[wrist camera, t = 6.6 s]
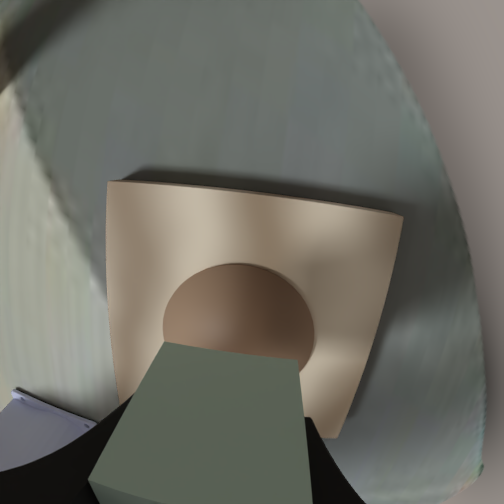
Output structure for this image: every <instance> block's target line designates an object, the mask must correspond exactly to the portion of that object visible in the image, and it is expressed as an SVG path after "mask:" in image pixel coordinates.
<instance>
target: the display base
mask: <svg viewBox="0 0 504 504" xmlns="http://www.w3.org/2000/svg"><path fill="white" fill-rule="evenodd" d="M403 219H404V217H403V216H400V215H398V214H395V213H393V212H388V211H382V210H377V209H371V208H365V207H359V206H353V205H347V204H341V203H334V202H328V201H321V200H315V199H308V198H301V197H293V196H286V195H278V194H271V193H263V192H254V191H246V190H237V189H228V188H219V187H209V186H199V185H188V184H176V183H164V182H151V181H137V180H113V181H108V185H107V206H106V276H107V297H108V312H109V325H110V336H111V346H112V354H113V363H114V370H115V377H116V384H117V391H118V397H119V403H120V405H121V404H122V403H124V402H125V401H126V400H127V399H128V398H129V397H130V396H131V395H133V394H134V393H135V392H136V390H137V388H138V386H139V385H140V383H141V381H142V379H143V377H144V376H145V374H146V372H147V370H148V369H149V367H150V365H151V363H152V362H153V360H154V358H155V356H156V355H157V353H158V351H159V349H160V348H161V346H162V344H163V343H164V341H165V342H171V343H176V344H182V345H188V346H193V347H199V348H206V349H212V350H219V351H226V352H233V353H240V354H248V355H256V356H265V357H274V358H283V359H294V360H298V368H299V376H300V384H301V393H302V402H303V410H304V417H311V419H312V420H313V422H314V424H315V426H316V428H317V431H318V433H319V435H320V437H321V438H338V435H339V433H340V431H341V428H342V426H343V423H344V421H345V419H346V416H347V414H348V411H349V409H350V406H351V404H352V401H353V398H354V396H355V393H356V390H357V388H358V385H359V382H360V380H361V377H362V374H363V371H364V368H365V365H366V362H367V359H368V356H369V353H370V350H371V347H372V344H373V341H374V338H375V334H376V331H377V328H378V324H379V321H380V317H381V314H382V310H383V307H384V303H385V299H386V295H387V292H388V288H389V284H390V280H391V276H392V271H393V267H394V263H395V258H396V254H397V249H398V244H399V239H400V234H401V229H402V224H403Z"/></svg>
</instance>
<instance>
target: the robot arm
mask: <svg viewBox="0 0 504 504" xmlns="http://www.w3.org/2000/svg"><path fill="white" fill-rule="evenodd" d="M11 393H12V396H13V399H12V401H11V402H10V403H9V404H8V405H7V406H6V407H5V408H4V409H3V410H2V411H1V412H0V504H100V503H99V501H98V499H97V497H96V495H95V493H94V491H93V489H92V487H91V485H90V483H89V481H88V478H89V476H90V474H91V473H92V471H93V469H94V467H95V465H96V463H97V461H98V459H99V457H100V456H101V454H102V452H103V450H104V448H105V446H106V444H107V443H108V441H109V439H110V437H111V435H112V433H113V431H114V430H115V428H116V426H117V424H118V422H119V420H120V419H121V417H122V415H123V413H124V411H125V410H126V408H127V406H128V404H129V402H130V401H131V399H132V397H133V395H134V394H133V395H131V396H130V397H129V398H128V399H127V400H126V401H125V402H124V403H122V404H121V405H120V406H119V407H118V408H117V409H115V410H114V411H113V412H112V413H111V414H109V415H108V416H107V417H106V418H104V419H103V420H102V421H100V422H99V423H98V424H97V423H95V422H94V421H91V420H88V419H85V418H82V417H80V416H77V415H74V414H71V413H69V412H66V411H64V410H61V409H59V408H56V407H54V406H51V405H49V404H47V403H44V402H42V401H40V400H37V399H35V398H33V397H31V396H29V395H26V394H24V393H22V392H20V391H18V390H16V389H13V390H12V391H11ZM304 420H305V429H306V438H307V448H308V458H309V469H310V480H311V491H312V502H313V504H366V503H365V502H364V501H363V500H362V499H361V498H360V497H359V495H358V494H357V493H356V492H355V490H354V489H353V488H352V487H351V485H350V484H349V482H348V481H347V480H346V478H345V477H344V475H343V474H342V472H341V471H340V469H339V468H338V466H337V465H336V463H335V461H334V460H333V458H332V457H331V455H330V453H329V451H328V450H327V448H326V446H325V444H324V442H323V440H322V439H321V437H320V435H319V433H318V431H317V428H316V426H315V424H314V422H313V420H312V419H311V417H304Z"/></svg>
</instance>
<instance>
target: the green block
mask: <svg viewBox="0 0 504 504" xmlns="http://www.w3.org/2000/svg"><path fill="white" fill-rule="evenodd" d="M88 481H89V483H90V485H91V487H92V489H93V491H94V493H95V495H96V497H97V499H98V501H99V503H100V504H313V502H312V491H311V480H310V469H309V458H308V448H307V438H306V429H305V420H304V410H303V402H302V393H301V384H300V376H299V368H298V360H294V359H283V358H274V357H265V356H256V355H248V354H240V353H233V352H226V351H219V350H212V349H206V348H199V347H193V346H188V345H182V344H176V343H171V342H165V341H164V343H163V344H162V346H161V348H160V349H159V351H158V353H157V355H156V356H155V358H154V360H153V362H152V363H151V365H150V367H149V369H148V370H147V372H146V374H145V376H144V377H143V379H142V381H141V383H140V385H139V386H138V388H137V390H136V392H135V393H134V395H133V397H132V399H131V401H130V402H129V404H128V406H127V408H126V410H125V411H124V413H123V415H122V417H121V419H120V420H119V422H118V424H117V426H116V428H115V430H114V431H113V433H112V435H111V437H110V439H109V441H108V443H107V444H106V446H105V448H104V450H103V452H102V454H101V456H100V457H99V459H98V461H97V463H96V465H95V467H94V469H93V471H92V473H91V474H90V476H89V478H88Z"/></svg>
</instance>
